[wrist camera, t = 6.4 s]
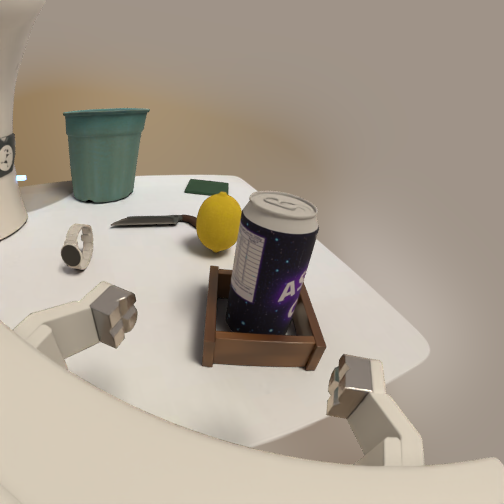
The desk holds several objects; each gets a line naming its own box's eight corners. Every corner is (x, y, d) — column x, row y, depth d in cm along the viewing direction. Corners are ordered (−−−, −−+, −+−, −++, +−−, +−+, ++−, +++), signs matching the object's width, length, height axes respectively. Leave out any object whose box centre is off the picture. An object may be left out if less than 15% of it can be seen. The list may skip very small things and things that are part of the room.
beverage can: (269, 360, 23) (308, 226, 17) (212, 330, 25) (228, 198, 19) (295, 323, 27) (331, 206, 21) (244, 299, 29) (266, 184, 23)
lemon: (243, 262, 35) (254, 200, 32) (199, 265, 33) (205, 200, 29) (229, 240, 40) (238, 185, 36) (190, 242, 38) (195, 184, 34)
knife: (201, 218, 45) (201, 213, 44) (206, 229, 41) (207, 224, 41) (112, 219, 39) (112, 215, 39) (110, 231, 36) (109, 227, 36)
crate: (202, 366, 21) (203, 341, 19) (208, 289, 30) (210, 265, 28) (314, 370, 22) (326, 346, 21) (294, 297, 31) (300, 274, 29)
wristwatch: (64, 276, 26) (56, 235, 24) (80, 253, 31) (76, 215, 28) (86, 279, 27) (79, 237, 25) (101, 255, 31) (97, 217, 29)
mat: (184, 192, 54) (184, 190, 54) (190, 181, 62) (190, 178, 62) (227, 197, 56) (228, 195, 55) (228, 185, 63) (228, 183, 63)
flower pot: (78, 180, 54) (80, 108, 46) (148, 181, 58) (153, 107, 50) (51, 208, 40) (48, 115, 32) (138, 209, 44) (144, 110, 37)
